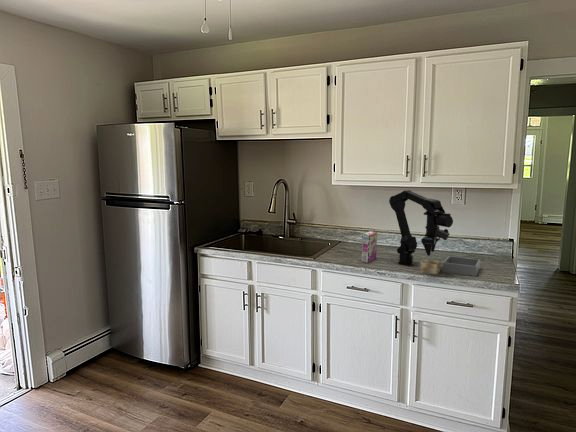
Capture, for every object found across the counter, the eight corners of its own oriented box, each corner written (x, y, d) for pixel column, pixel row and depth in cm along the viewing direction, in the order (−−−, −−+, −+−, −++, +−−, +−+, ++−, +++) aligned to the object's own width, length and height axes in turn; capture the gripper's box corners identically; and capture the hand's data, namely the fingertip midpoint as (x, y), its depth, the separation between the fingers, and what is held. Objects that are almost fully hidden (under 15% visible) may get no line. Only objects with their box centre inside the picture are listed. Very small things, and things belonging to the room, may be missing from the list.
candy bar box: (368, 263, 230) (369, 235, 227) (360, 262, 233) (361, 234, 230) (376, 259, 239) (377, 231, 236) (368, 257, 242) (369, 230, 239)
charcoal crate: (442, 271, 213) (443, 262, 212) (448, 264, 226) (448, 255, 226) (476, 276, 205) (476, 266, 204) (479, 268, 218) (480, 259, 218)
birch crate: (419, 271, 214) (420, 262, 213) (422, 268, 219) (423, 259, 219) (437, 274, 209) (438, 264, 209) (440, 271, 215) (440, 262, 214)
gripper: (445, 228, 198) (443, 259, 201) (452, 222, 214) (450, 251, 217) (421, 226, 204) (420, 256, 207) (430, 221, 220) (428, 249, 222)
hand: (430, 253), depth 213 cm, fingers open, 9 cm apart
